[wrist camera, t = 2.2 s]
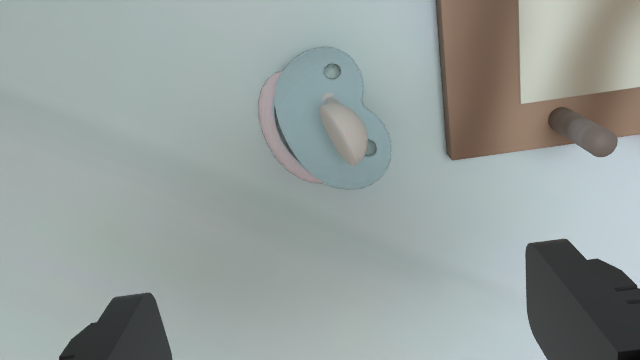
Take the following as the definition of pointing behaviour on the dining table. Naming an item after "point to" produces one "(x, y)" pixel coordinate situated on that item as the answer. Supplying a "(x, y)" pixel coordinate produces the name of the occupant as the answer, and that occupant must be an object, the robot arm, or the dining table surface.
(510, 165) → the dining table surface
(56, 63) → the dining table surface
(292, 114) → the pacifier
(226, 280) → the dining table surface
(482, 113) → the pin tray
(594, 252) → the dining table surface
